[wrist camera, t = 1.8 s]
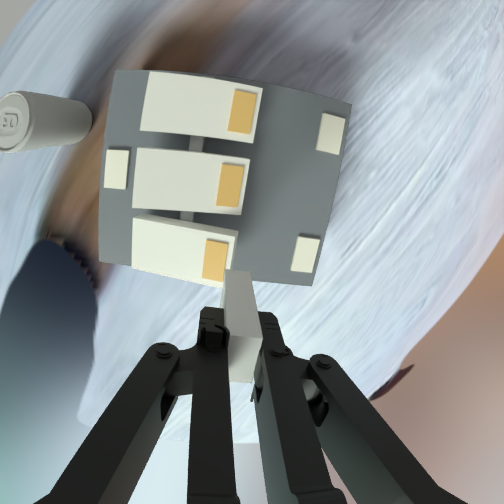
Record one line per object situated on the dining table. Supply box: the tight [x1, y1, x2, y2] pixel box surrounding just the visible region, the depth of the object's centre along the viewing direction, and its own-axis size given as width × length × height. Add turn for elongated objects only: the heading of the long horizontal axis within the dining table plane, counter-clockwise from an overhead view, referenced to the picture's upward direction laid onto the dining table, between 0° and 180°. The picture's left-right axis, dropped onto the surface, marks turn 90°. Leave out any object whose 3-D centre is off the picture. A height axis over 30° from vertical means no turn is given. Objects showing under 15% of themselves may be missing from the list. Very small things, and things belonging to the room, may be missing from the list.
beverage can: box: [0, 91, 92, 153], centre depth 20 cm, size 5×5×12 cm
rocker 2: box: [132, 147, 250, 215], centre depth 21 cm, size 8×4×2 cm, turn 78°
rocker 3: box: [132, 213, 238, 288], centre depth 23 cm, size 8×4×2 cm, turn 81°
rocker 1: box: [140, 71, 263, 143], centre depth 19 cm, size 8×4×2 cm, turn 78°
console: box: [99, 70, 352, 286], centre depth 26 cm, size 20×17×7 cm
